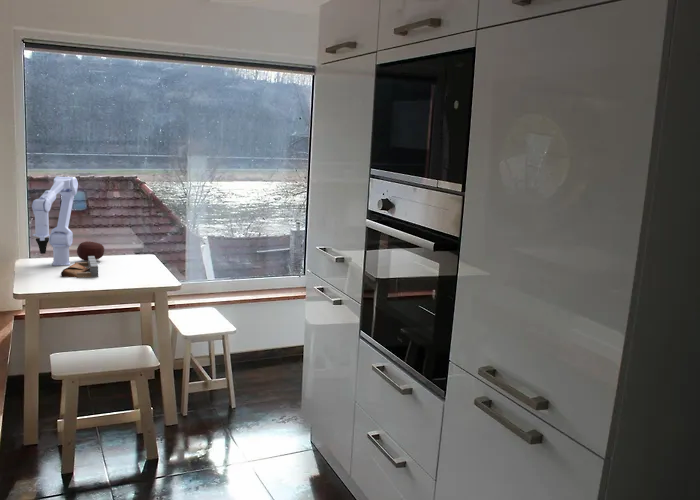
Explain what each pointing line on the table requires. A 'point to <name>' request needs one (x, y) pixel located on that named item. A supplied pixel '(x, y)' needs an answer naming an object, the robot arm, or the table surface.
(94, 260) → the dock
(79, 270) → the sunglasses case
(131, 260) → the table surface
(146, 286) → the table surface
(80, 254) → the potato
